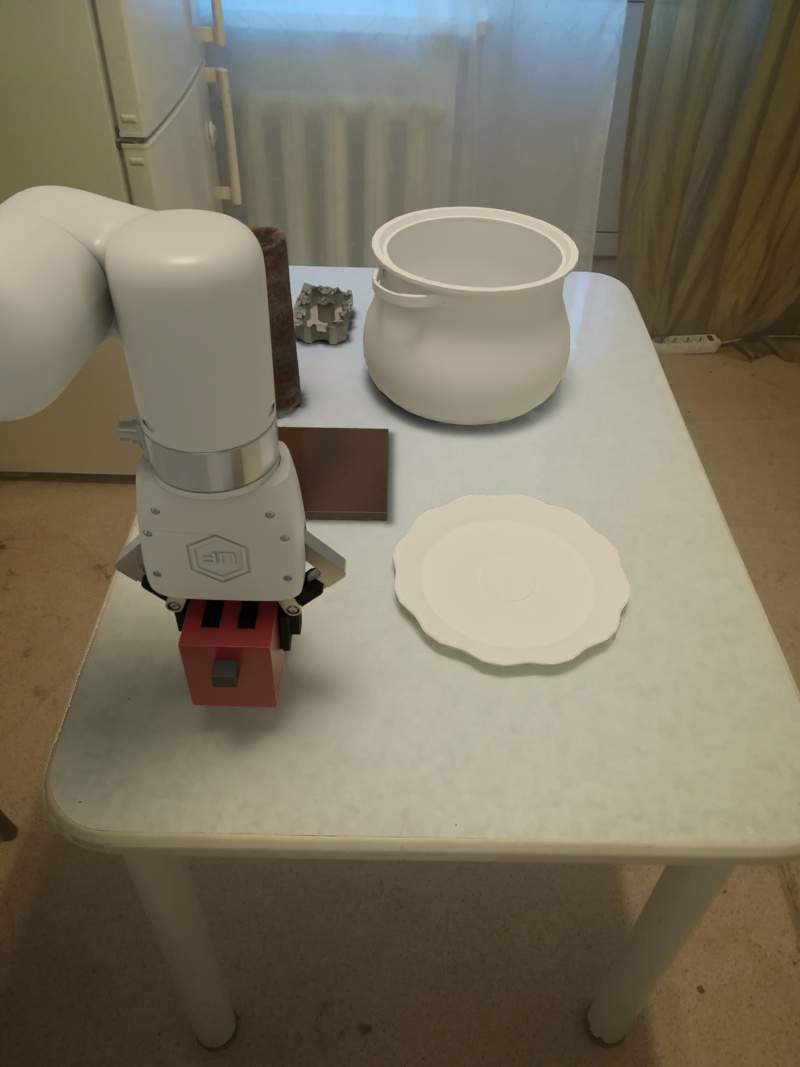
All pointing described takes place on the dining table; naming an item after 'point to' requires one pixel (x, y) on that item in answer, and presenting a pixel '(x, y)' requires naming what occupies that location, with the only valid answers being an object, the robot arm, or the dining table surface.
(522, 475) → the dining table surface
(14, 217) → the robot arm
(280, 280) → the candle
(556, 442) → the dining table surface
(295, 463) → the board
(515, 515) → the plate
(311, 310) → the grey hollow ruin block
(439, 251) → the pot
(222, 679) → the toaster
